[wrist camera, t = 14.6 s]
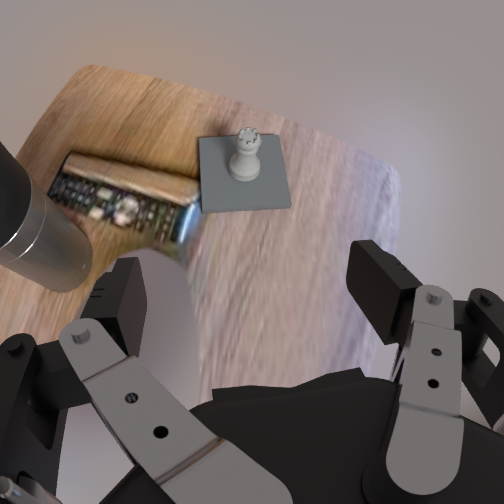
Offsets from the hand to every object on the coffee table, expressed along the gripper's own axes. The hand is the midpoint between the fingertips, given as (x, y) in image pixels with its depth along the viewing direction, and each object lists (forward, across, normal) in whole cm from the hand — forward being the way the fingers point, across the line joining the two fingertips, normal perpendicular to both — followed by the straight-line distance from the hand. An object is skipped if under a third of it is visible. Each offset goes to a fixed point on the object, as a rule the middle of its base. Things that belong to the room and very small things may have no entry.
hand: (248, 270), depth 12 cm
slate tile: (+36, -4, +5) cm, 36 cm away
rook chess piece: (+35, -4, +4) cm, 35 cm away
